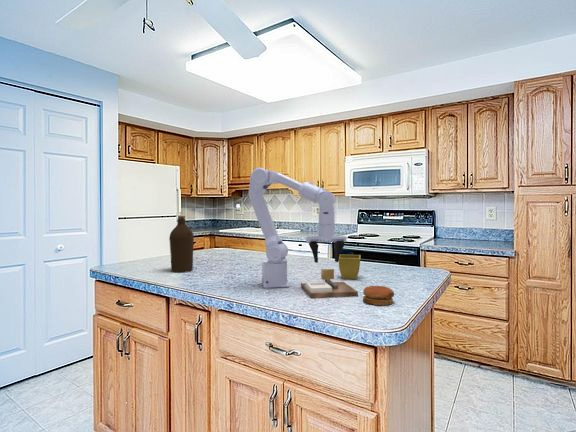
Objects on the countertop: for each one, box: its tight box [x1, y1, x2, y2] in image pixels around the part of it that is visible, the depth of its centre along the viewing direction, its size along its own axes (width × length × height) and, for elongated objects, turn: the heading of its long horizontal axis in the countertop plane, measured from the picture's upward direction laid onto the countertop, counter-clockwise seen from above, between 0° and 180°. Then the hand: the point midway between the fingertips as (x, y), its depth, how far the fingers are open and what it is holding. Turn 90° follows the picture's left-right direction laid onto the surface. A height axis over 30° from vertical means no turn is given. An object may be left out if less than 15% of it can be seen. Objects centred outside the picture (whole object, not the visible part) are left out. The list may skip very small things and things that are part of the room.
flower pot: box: [338, 254, 361, 280], centre depth 147 cm, size 9×9×9 cm
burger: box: [362, 285, 395, 306], centre depth 112 cm, size 10×9×5 cm
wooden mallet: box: [320, 268, 338, 289], centre depth 126 cm, size 4×10×5 cm, turn 13°
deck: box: [300, 281, 359, 299], centre depth 124 cm, size 16×15×2 cm
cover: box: [304, 280, 332, 293], centre depth 122 cm, size 7×10×2 cm
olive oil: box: [168, 215, 195, 273], centre depth 163 cm, size 11×11×25 cm
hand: (326, 262), depth 130 cm, fingers open, 7 cm apart
